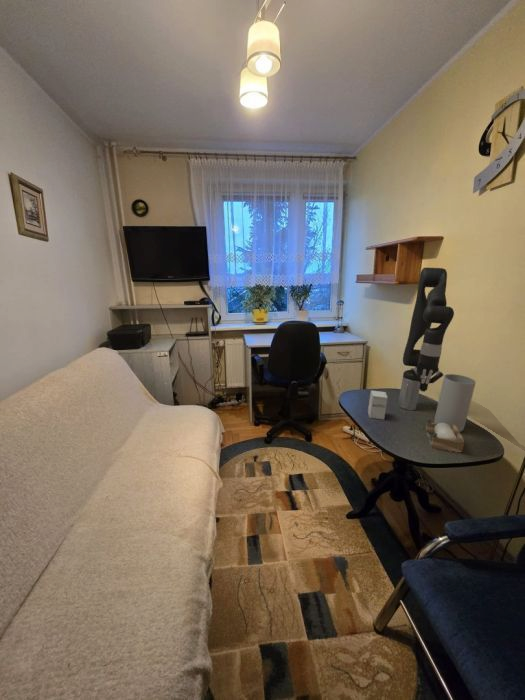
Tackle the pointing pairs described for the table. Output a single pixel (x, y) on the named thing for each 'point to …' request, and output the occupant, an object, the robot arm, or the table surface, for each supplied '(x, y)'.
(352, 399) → the table surface
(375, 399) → the supplement box
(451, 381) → the cylinder vase
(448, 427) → the paper roll
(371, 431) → the table surface
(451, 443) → the oak cradle
